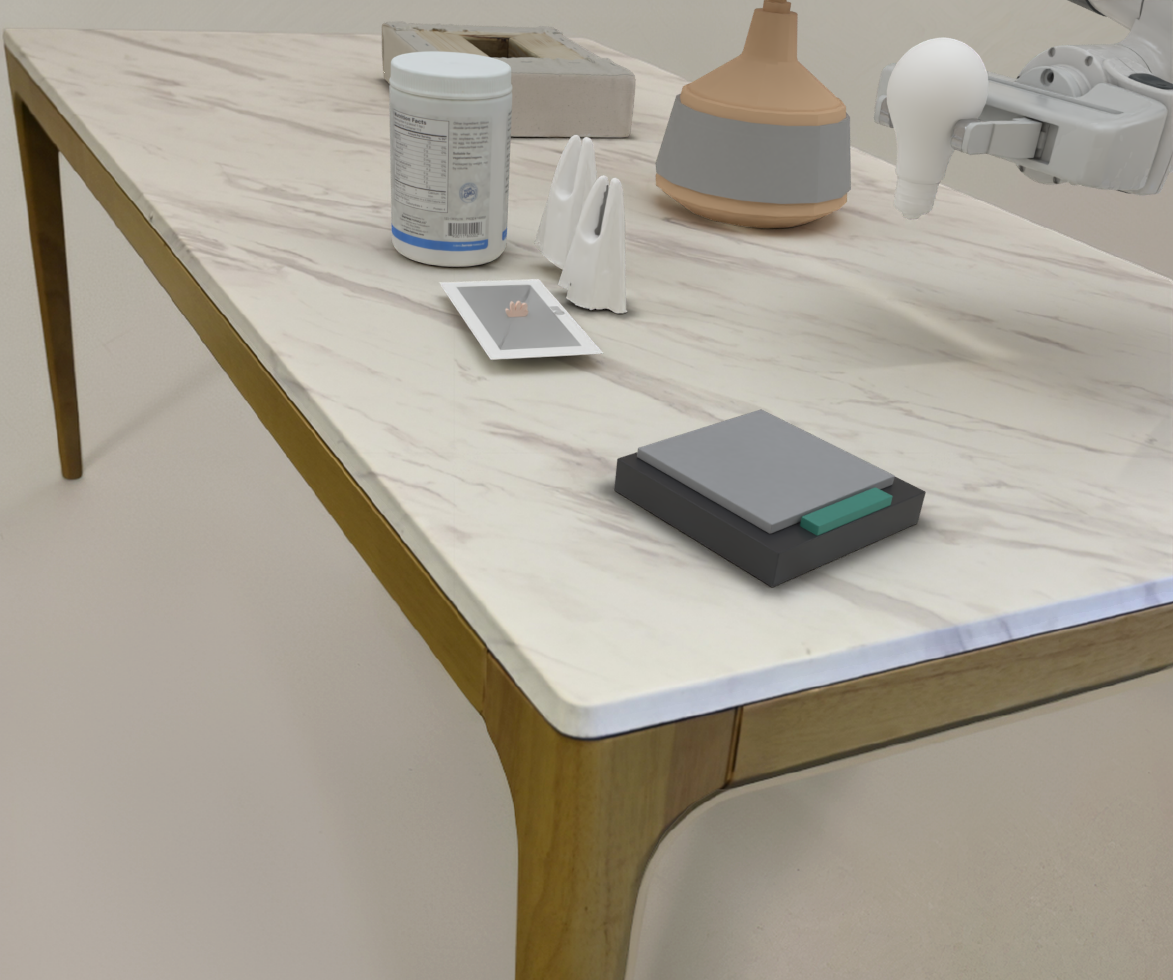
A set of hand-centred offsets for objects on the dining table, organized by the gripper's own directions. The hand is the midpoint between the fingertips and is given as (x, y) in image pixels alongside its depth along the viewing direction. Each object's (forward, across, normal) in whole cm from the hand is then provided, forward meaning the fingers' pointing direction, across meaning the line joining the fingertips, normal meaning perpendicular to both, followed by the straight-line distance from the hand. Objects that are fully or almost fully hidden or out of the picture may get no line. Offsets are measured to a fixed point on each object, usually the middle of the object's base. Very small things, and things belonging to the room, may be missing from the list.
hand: (920, 124), depth 77 cm
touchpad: (+20, -15, +17) cm, 30 cm away
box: (-13, -83, +17) cm, 86 cm away
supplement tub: (+17, -33, +17) cm, 41 cm away
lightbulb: (-1, 0, +6) cm, 6 cm away
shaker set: (+11, -22, +17) cm, 30 cm away
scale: (+19, +13, +17) cm, 28 cm away
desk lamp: (-17, -37, +17) cm, 44 cm away
